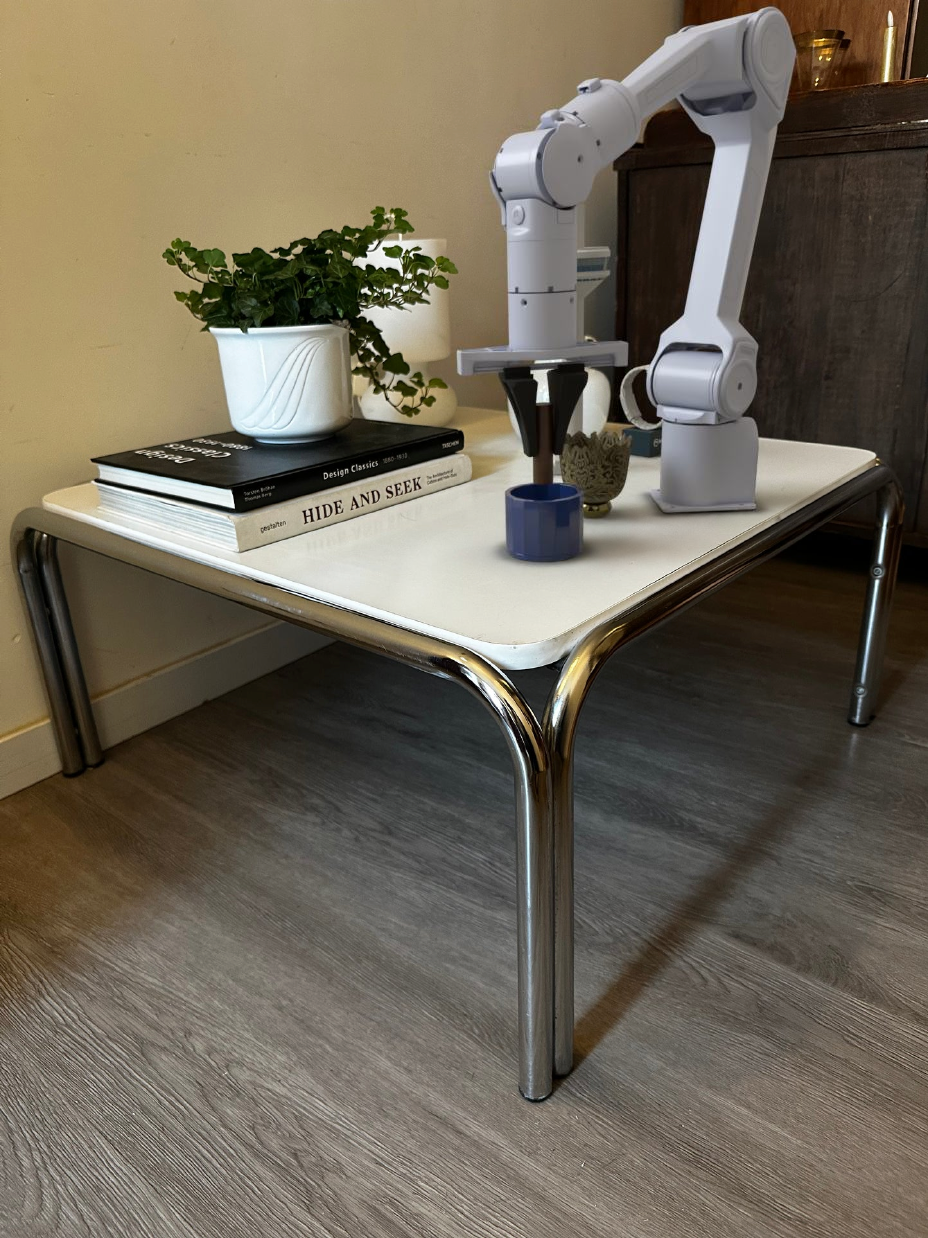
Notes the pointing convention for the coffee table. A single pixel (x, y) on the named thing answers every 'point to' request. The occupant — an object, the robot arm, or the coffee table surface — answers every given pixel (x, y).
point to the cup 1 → (544, 521)
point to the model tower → (588, 278)
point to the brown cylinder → (544, 444)
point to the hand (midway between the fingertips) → (543, 453)
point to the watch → (639, 421)
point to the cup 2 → (596, 468)
